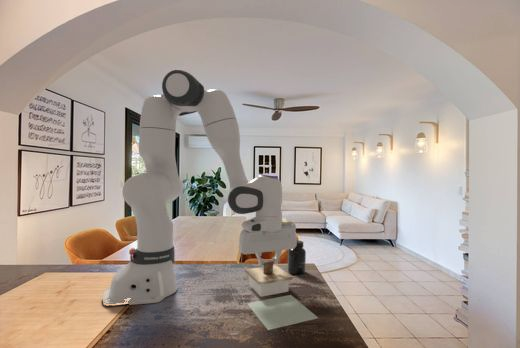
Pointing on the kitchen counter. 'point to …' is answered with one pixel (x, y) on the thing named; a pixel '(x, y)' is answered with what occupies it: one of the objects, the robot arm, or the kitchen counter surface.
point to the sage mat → (281, 312)
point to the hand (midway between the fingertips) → (268, 264)
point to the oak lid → (268, 273)
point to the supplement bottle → (297, 259)
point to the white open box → (269, 287)
